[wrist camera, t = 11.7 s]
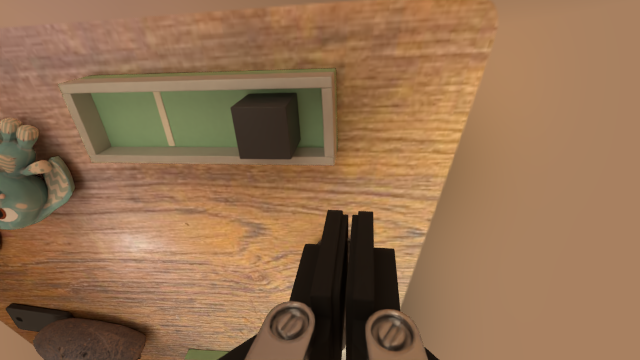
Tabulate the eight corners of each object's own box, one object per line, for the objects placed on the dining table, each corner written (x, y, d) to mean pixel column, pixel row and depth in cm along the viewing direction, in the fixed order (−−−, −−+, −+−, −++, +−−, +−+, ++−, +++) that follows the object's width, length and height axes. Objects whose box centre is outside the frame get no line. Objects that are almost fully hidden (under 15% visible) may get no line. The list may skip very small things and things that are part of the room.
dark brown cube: (255, 139, 27) (239, 159, 24) (248, 93, 25) (229, 107, 22) (300, 139, 27) (291, 159, 23) (296, 92, 25) (285, 106, 21)
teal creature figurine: (36, 157, 26) (22, 267, 30) (98, 139, 33) (80, 230, 37) (-96, 102, 25) (-93, 223, 29) (-4, 95, 32) (-12, 194, 36)
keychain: (77, 337, 48) (18, 329, 49) (81, 333, 49) (22, 325, 50) (66, 316, 46) (4, 307, 47) (70, 312, 46) (8, 303, 47)
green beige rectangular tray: (118, 147, 31) (91, 163, 28) (90, 75, 28) (56, 83, 25) (338, 148, 28) (334, 166, 25) (336, 67, 25) (331, 76, 22)
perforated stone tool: (59, 323, 48) (16, 369, 42) (53, 301, 45) (6, 347, 39) (157, 347, 48) (128, 397, 42) (156, 327, 46) (126, 376, 40)
